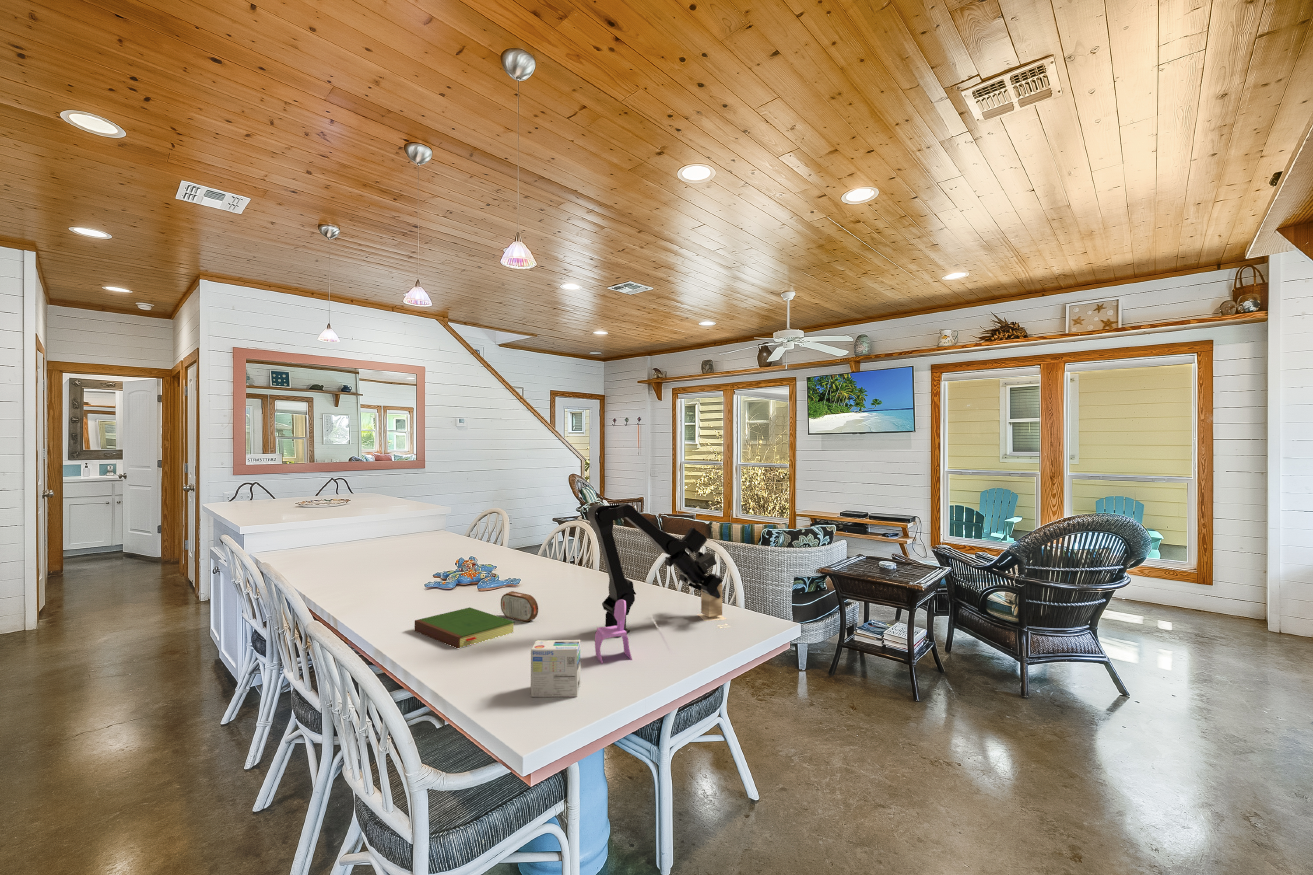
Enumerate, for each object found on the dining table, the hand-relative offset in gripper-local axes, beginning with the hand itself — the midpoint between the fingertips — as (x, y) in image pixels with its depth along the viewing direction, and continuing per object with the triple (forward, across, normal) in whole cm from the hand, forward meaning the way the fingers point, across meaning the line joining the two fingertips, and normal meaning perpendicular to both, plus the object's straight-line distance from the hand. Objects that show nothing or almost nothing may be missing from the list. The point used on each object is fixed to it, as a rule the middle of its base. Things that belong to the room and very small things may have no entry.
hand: (715, 595), depth 186 cm
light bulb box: (-39, -32, +50) cm, 71 cm away
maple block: (+3, 0, +5) cm, 6 cm away
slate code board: (+4, -5, +7) cm, 9 cm away
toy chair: (-25, -18, +36) cm, 48 cm away
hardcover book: (-48, +20, +60) cm, 79 cm away
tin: (-36, +27, +47) cm, 65 cm away
